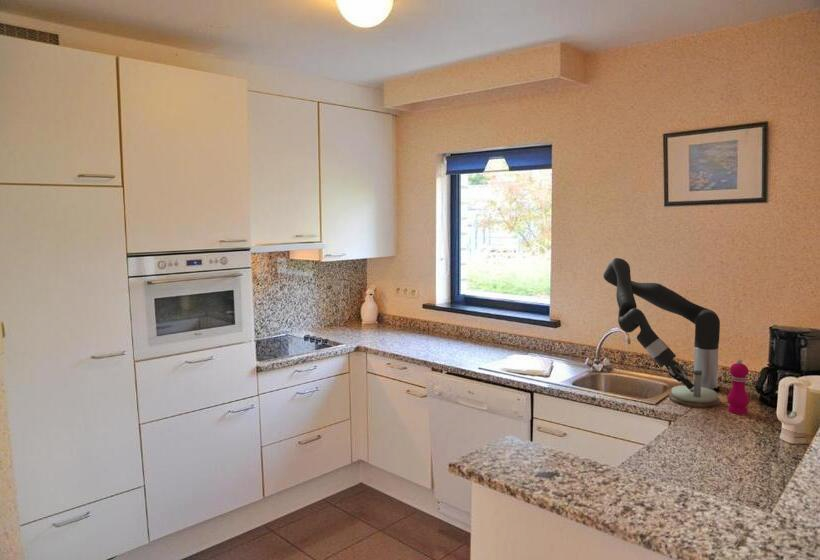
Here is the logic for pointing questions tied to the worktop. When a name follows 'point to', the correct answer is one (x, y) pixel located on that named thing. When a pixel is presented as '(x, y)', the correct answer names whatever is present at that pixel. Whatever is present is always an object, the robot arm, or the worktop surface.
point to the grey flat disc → (694, 403)
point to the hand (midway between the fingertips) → (691, 387)
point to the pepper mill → (738, 389)
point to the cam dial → (695, 391)
